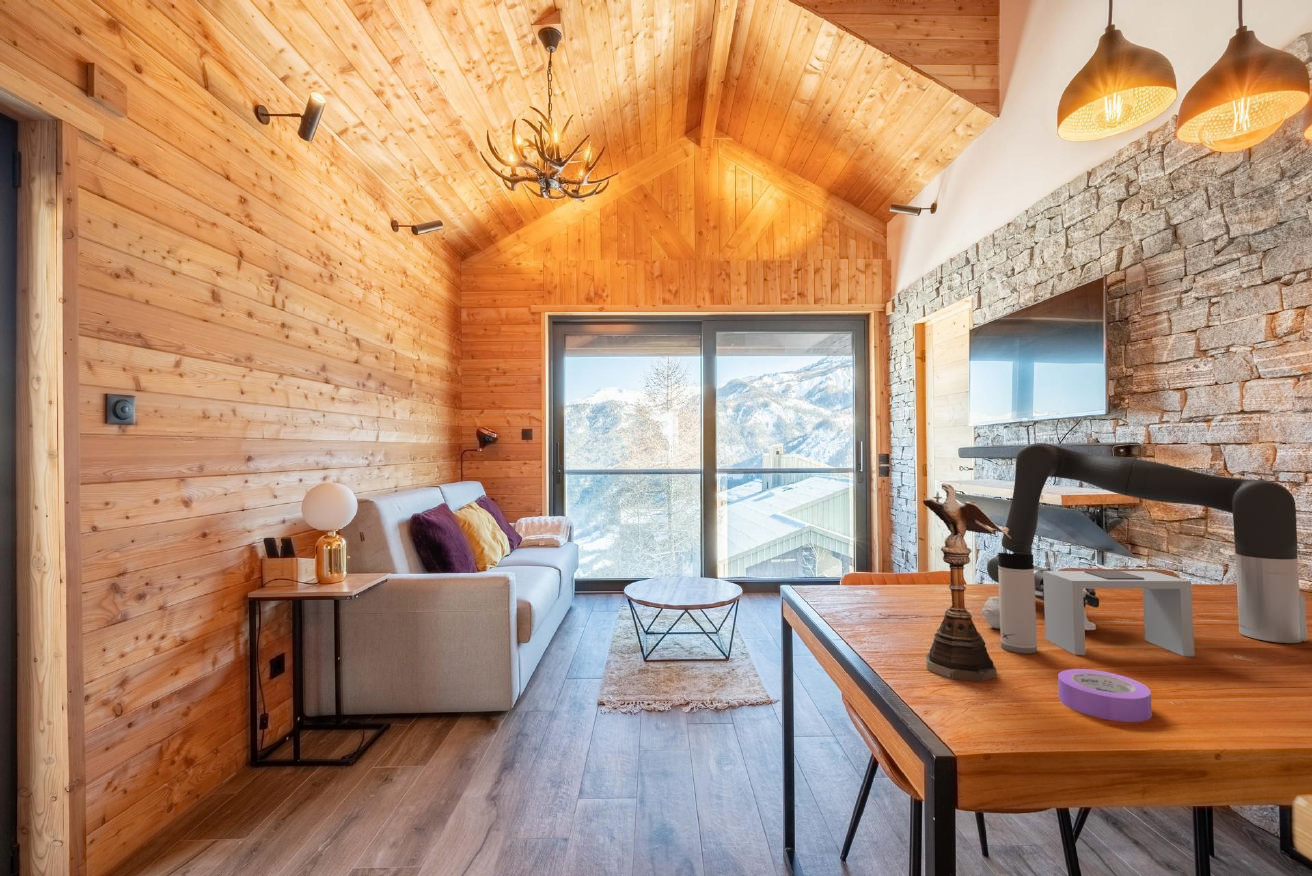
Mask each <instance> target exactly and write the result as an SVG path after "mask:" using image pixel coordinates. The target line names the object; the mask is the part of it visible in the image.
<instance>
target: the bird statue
mask: <svg viewBox="0 0 1312 876" xmlns="http://www.w3.org/2000/svg"><path fill="white" fill-rule="evenodd" d="M941 490H943V491H944V492H945V494H946V498H945V500H944V502H940V501H939V500H940V499H943V497H942V496H940V494H939V493H940V492H939V491H936V496H933V497H932V498H933V499H932V498H925V499H923V500H922V504H923V505H924V506H925V507H927V508H928V509H929V510H930V511H932V512H933V513H934V514H935V515H936V516H937V517H938V518H939V519H940V520H941V521H943V523H944V525H945V527H946V528H947V530H948V531H950V534H949V535H947V537H946V538H945V540H944V545H945V546H941V548H940V551H941V552H942V553H943V556H942V560H943V562H945V563H946V564H948V565H949V566H948V567H949V569H950V571H949V572H950V573H949V574H950V575H949V576H950V584H949V585H948V588H949V589H950V592H951V594H950V595H951V606H949V608H947V609H946V611H945V612H944V617H943V620H942V622H941V623H940V626H939V628H938V629H936V633H935V634H933V636H934V639H933V643H931V647H930V649H929V653H925V658H924V659H925V665H926V669H927V671H930V672H933V673H935V674H937V675H941V676H943V677H946V678H948V679H951V680H961V681H969V682H983V681H987V680H991V679H992V680H993V679H995V678H997V668H996V665H994V661H993V659H992V658H991V657H990V655H989V653H988V650H987V647H986V641H985V640H984V638H983V636H982V635H981V632H979V631H978V630H977V628H976V625H975V624H974V622H973V619H972V618H973V615H972V614H971V613H970V611H969V610H967V609H966V606H965V591H966V590H967V588H966V586H965V581H964V569H965V567H964V566H965V565H967V564H969V563H971V560H970V559H971V558H970V554H971V553H972V549H971V548H969V547H968V544H967V542H966V540H965V538H964V537H965V535H966V533H967V532H969V533H970V532H972V533H978V534H981V533H982V534H992V535H996V533H997V532H1000V533H1003V534H1005V535H1007V537H1008V538H1009V539H1012V538H1011V537H1010V536H1009V535H1008V534H1007V533H1008V531H1009V529H1008V528H1007V527H1005V526H1000V525H999V526H998V525H997V524H996V523H995V522H993V521H992V520H991V518H989V516H988V515H987V514H986V513H985V512H984V511H983V509H982V508H981V507H980V506H979V505H978V504H977V503H976V502H975V501H974V502H973V501H970V500H969V501H965V502H964V504H963V503H962V504H961V503H959V502H958V501H957V497H956V493H957V492H956V490H955V489H954V487H953V485H952V484H951V485H950V484H947V483H942V484H941ZM934 499H935V500H934Z"/></svg>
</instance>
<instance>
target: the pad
mask: <svg viewBox="0 0 1312 876" xmlns="http://www.w3.org/2000/svg"><path fill="white" fill-rule="evenodd" d="M1083 571H1084V573H1088V574H1091V575H1094V576H1097V577H1101V578H1104V579H1139V580H1144V578H1142V577H1139V576H1135V575H1132V574H1128V573H1124V572H1121V570H1083Z"/></svg>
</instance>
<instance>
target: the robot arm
mask: <svg viewBox="0 0 1312 876" xmlns="http://www.w3.org/2000/svg"><path fill="white" fill-rule="evenodd" d="M1014 472H1015V473H1014V474H1015V475H1014V486H1013V493H1012V498H1011V504H1010V508H1009V511H1008V516H1007V520H1006V523H1005V526H1004V527H1007V528H1008V529H1009V531H1008V533H1007V534H1008V535H1009V536H1010V537H1011V538H1012V539H1009V538H1008V537H1007V535H1005V534H1004V533H1003V535H1002V538H1001V546H1002V547H1003V548H1004V549H1005V550H1008V551H1009V552H1011V553H1013V552H1016V553H1023V554H1032V549H1033V548H1032V546H1033V543H1034V539H1035V536H1036V533H1037V532H1036V531H1037V528H1038V522H1039V506H1040V500H1041V495H1042V492H1043V489H1044V487H1045V485H1046V482H1047V481H1048V478H1059V479H1066V480H1073V481H1078V482H1082V483H1085V484H1086V483H1087V484H1089V485H1092V486H1093V487H1097V488H1100V489H1102V490H1105V491H1108V492H1111V493H1115V494H1118V495H1122V496H1126V497H1131V498H1135V499H1140V500H1147V501H1152V502H1160V503H1168V504H1180V505H1182V504H1183V505H1193V506H1194V505H1195V506H1199V507H1200V506H1201V507H1206V508H1210V509H1213V510H1219V511H1223V512H1226V513H1230V514H1232V519H1233V520H1232V521H1233V540H1234V549H1235V550H1234V552H1235V553H1234V555H1235V572H1236V593H1237V594H1236V595H1237V613H1238V614H1237V616H1238V631H1239V632H1238V633H1239V634H1241V635H1242V636H1245V637H1247V638H1248V637H1249V638H1251V639H1255V640H1262V641H1266V642H1273V643H1281V644H1282V643H1284V644H1299V643H1302V642H1308V632H1307V631H1308V629H1307V628H1308V627H1307V614H1306V613H1307V612H1306V597H1305V594H1302V593H1300V578H1299V563H1298V561H1299V560H1298V558H1299V557H1298V533H1297V531H1298V529H1297V528H1298V527H1297V526H1298V525H1297V524H1298V523H1297V507H1296V501H1295V497H1294V495H1293V494H1292V493H1291V492H1290V490H1288V489H1287V488H1286V487H1285V486H1284V485H1282V484H1280V483H1277V482H1275V481H1271V480H1264V479H1245V478H1237V477H1236V478H1234V477H1233V478H1232V477H1225V476H1218V475H1213V474H1212V475H1210V474H1206V473H1202V472H1198V471H1193V470H1191V469H1186V468H1182V467H1179V466H1176V465H1170V464H1165V463H1161V462H1158V461H1157V462H1156V461H1150V460H1143V459H1137V458H1131V457H1124V456H1116V455H1115V456H1114V455H1105V454H1091V453H1086V452H1081V451H1076V450H1072V449H1067V448H1064V447H1060V446H1056V445H1053V444H1049V443H1045V442H1036V443H1031V444H1027V445H1025V446H1024V447H1022V448H1021V449H1020V450H1019V451H1018V452H1017V454H1016V460H1015V471H1014ZM986 565H987V566H986V573H987V574H988V576H989V578H990V580H992V581H994V582H996V583H998V584H999V572H998V569H999V568H998V565H999V561H998V556H994V557H992V558H991V559H990V560H989V561H988V562H987V564H986ZM1043 571H1050V570H1049V569H1047V568H1044V567H1043V568H1042V567H1038V566H1035V565H1034V581H1035V599H1038V600H1040V601H1042V602H1044V584H1043ZM1084 590H1086V591H1087V593H1086V595H1085V598H1084V597H1083V601H1084V607H1085V608H1086V605H1087V606H1090V607H1092V608H1097V609H1098V608H1099V607H1100V598H1098V597H1097V596H1096V594H1097V593H1096V590H1095V589H1084ZM1086 601H1087V602H1088V603H1086Z"/></svg>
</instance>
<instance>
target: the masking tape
mask: <svg viewBox="0 0 1312 876" xmlns="http://www.w3.org/2000/svg"><path fill="white" fill-rule="evenodd" d="M1057 679H1058V681H1057V683H1058V684H1057V686H1058V700H1059V701H1060V703H1062V704H1063V705H1064V706H1066V707H1068V708H1070V709H1072V710H1074V711H1075V712H1079V713H1080V714H1081V713H1082V714H1085V715H1088V716H1091V717H1095V718H1097V719H1103V720H1108V721H1115V722H1124V723H1141V722H1146V721H1148V720H1150V719H1152V717H1153V709H1152V707H1153V706H1152V691H1151V689H1150V687H1147V685H1145V684H1144V683H1142V682H1140V681H1138V680H1135V679H1132V678H1130V677H1127V676H1125V675H1120V674H1116V673H1112V672H1108V671H1102V670H1095V669H1086V668H1085V669H1084V668H1082V669H1081V668H1074V669H1066V670H1062V671H1061V672H1059V673H1058V675H1057Z"/></svg>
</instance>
